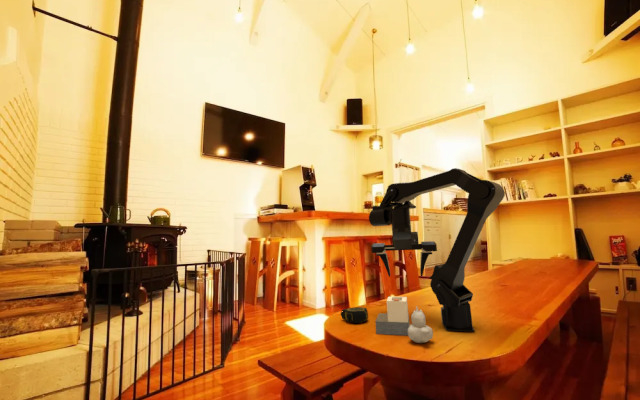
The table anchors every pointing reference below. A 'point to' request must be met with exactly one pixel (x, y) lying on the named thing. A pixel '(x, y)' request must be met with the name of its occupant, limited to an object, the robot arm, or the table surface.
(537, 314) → the table surface
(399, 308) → the cream box
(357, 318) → the tape measure
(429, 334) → the white rounded figure
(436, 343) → the table surface
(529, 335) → the table surface
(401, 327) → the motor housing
